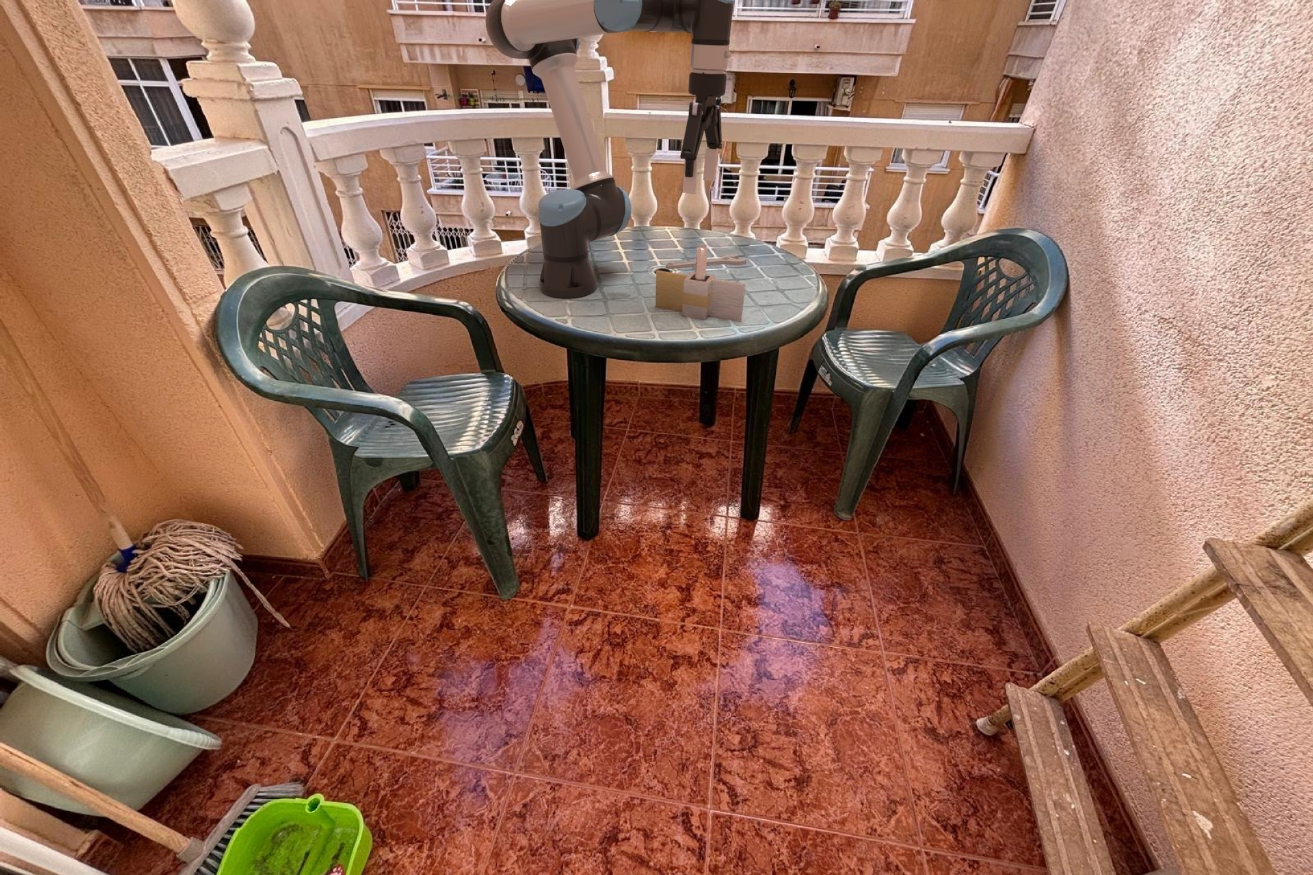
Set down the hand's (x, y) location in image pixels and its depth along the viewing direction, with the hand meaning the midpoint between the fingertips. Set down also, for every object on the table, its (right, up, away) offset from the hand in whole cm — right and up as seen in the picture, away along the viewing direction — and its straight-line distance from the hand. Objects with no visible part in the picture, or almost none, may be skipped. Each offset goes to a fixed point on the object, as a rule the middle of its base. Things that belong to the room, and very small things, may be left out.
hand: (699, 186), depth 119 cm
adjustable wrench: (+5, -4, +42) cm, 42 cm away
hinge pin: (+1, -25, +13) cm, 28 cm away
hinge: (+1, -25, +13) cm, 28 cm away
